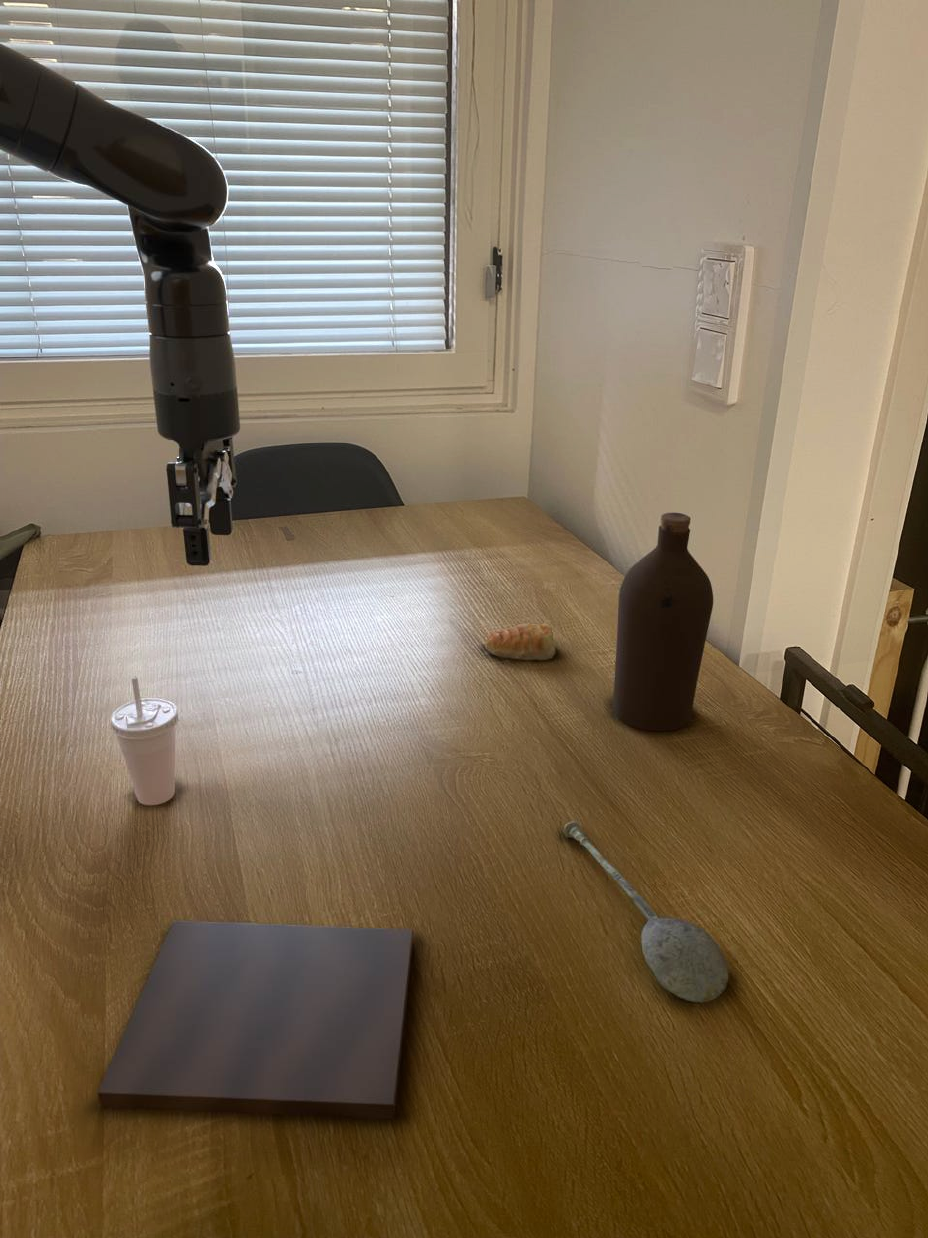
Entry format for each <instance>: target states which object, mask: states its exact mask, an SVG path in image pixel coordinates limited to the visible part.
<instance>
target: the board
mask: <svg viewBox="0 0 928 1238" xmlns="http://www.w3.org/2000/svg"><path fill="white" fill-rule="evenodd" d="M413 947H414V930H413V929H407V928H406V929H405V928H403V929H402V928H400V929H399V928H377V927H376V928H375V927H352V926H348V927H347V926H325V925H299V924H298V925H297V924H273V923H271V924H270V923H268V924H267V923H248V922H247V923H245V922H218V921H216V922H215V921H192V920H191V921H190V920H172V922H171V924H170V927H169V929H168V931H167V934H166V935H165V938H164V940H163V942H162V944H161V947H160V950H159V952H158V953H157V956H156V958H155V960H154V963H153V966H152V968H151V970H150V972H149V975H148V977H147V979H146V981H145V983H144V986H143V989H142V991H141V993H140V994H139V997H138V1000H137V1001H136V1004H135V1006H134V1008H133V1011H132V1013H131V1015H130V1018H129V1020H128V1022H127V1024H126V1027H125V1029H124V1032H123V1034H122V1036H121V1038H120V1041H119V1043H118V1044H117V1047H116V1049H115V1052H114V1054H113V1056H112V1059H111V1061H110V1063H109V1065H108V1068H107V1070H106V1073H105V1075H104V1077H103V1079H102V1081H101V1084H100V1086H99V1088H98V1091H97V1096H98V1101H99V1106H100V1108H110V1109H111V1108H114V1109H133V1110H134V1109H135V1110H136V1109H137V1110H138V1109H139V1110H160V1111H183V1112H184V1111H187V1112H206V1113H207V1112H209V1113H232V1114H233V1113H237V1114H258V1115H259V1114H260V1115H284V1116H309V1117H330V1118H331V1117H333V1118H352V1119H353V1118H355V1119H356V1118H357V1119H378V1120H379V1119H382V1120H394V1119H395V1116H396V1107H397V1097H398V1087H399V1079H400V1071H401V1069H400V1068H401V1062H402V1061H401V1059H402V1051H403V1050H402V1049H403V1042H404V1041H403V1039H404V1031H405V1022H406V1012H407V1003H408V996H409V995H408V994H409V992H408V991H409V985H410V975H411V966H412V965H411V964H412V956H413Z"/></svg>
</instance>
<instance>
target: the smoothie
mask: <svg viewBox="0 0 928 1238" xmlns="http://www.w3.org/2000/svg"><path fill="white" fill-rule="evenodd" d="M131 684H132V691H133V697H134V700H132V701H129V702H127V703H124V704H123V705H121V706H119V707H118V708H116V709H115V710H114V711H113V713H111V716H110V718H109V719H110V720H109V721H110V730H111V731H112V733H113V734H114V735H115V736H116V738H117V741H118V744H119V747H120V750H121V752H122V756H123V759H124V763H125V766H126V768H127V771H128V775H129V778H130V781H131V784H132V787H133V791H134V794H135V796H136V799H137V801H138V803H140V804H142V805H145V806H156V805H157V806H158V805H161V804H164V803H166V802H169V801H170V800H171V799H172V798H173V797H174V795H175V793H176V786H175V785H176V736H177V735H176V732H177V731H176V730H177V729H176V728H177V727H176V726H177V724H178V722H179V721H180V715H179V713H178V708H177V706H176V705H175V704H174V703H173V702H171V701H169V700H167V699H162V698H155V697H152V698H141V697H142V696H141V691H140V684H139V678H138V676H136V675H135V676H131Z"/></svg>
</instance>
